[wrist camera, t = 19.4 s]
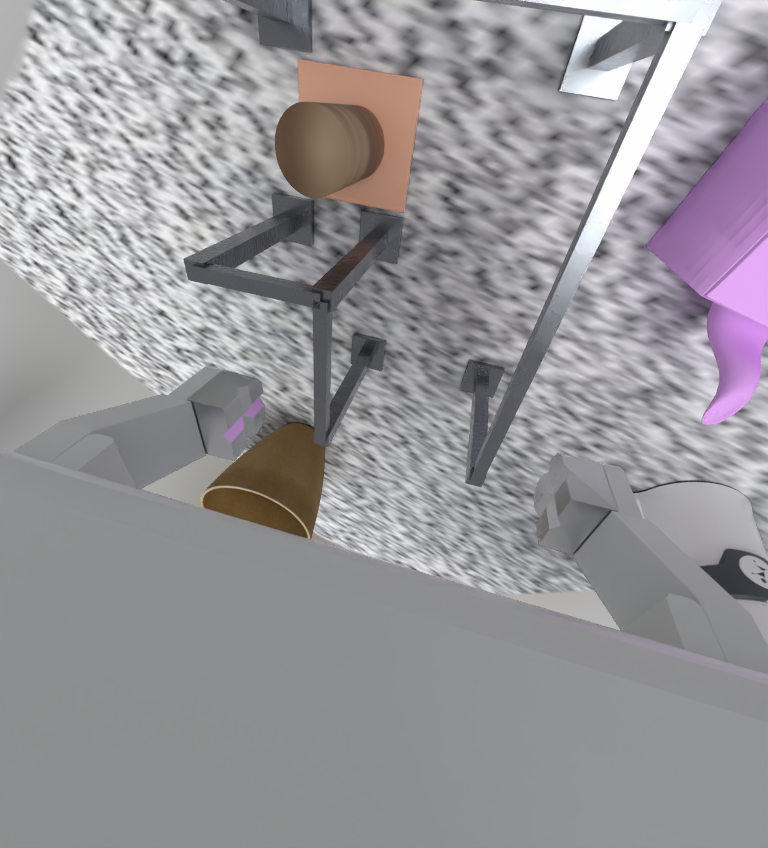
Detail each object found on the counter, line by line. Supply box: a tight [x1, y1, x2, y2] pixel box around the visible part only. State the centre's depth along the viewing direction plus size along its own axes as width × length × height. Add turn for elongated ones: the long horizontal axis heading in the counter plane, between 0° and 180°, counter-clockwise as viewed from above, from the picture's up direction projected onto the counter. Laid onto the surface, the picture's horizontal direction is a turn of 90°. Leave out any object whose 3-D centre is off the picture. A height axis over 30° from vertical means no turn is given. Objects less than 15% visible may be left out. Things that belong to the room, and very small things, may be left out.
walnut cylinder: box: [275, 102, 385, 198], centre depth 27 cm, size 5×5×10 cm
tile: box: [298, 59, 423, 213], centre depth 31 cm, size 9×10×1 cm
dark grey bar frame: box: [184, 0, 722, 487], centre depth 29 cm, size 31×27×16 cm
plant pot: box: [200, 423, 325, 539], centre depth 52 cm, size 15×15×16 cm
